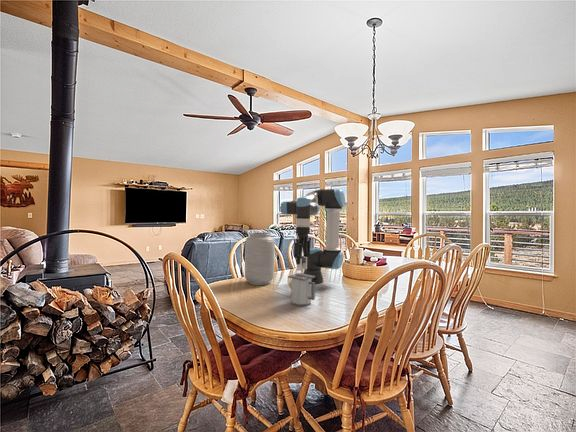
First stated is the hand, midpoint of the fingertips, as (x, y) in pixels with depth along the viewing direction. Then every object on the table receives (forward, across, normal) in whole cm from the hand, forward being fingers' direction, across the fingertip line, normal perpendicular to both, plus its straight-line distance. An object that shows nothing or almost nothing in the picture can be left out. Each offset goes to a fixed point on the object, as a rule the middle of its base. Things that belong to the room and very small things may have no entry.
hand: (301, 269), depth 163 cm
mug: (+19, -16, -12) cm, 27 cm away
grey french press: (+18, 0, +1) cm, 18 cm away
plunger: (+10, 0, 0) cm, 10 cm away
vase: (+19, -17, -47) cm, 53 cm away
